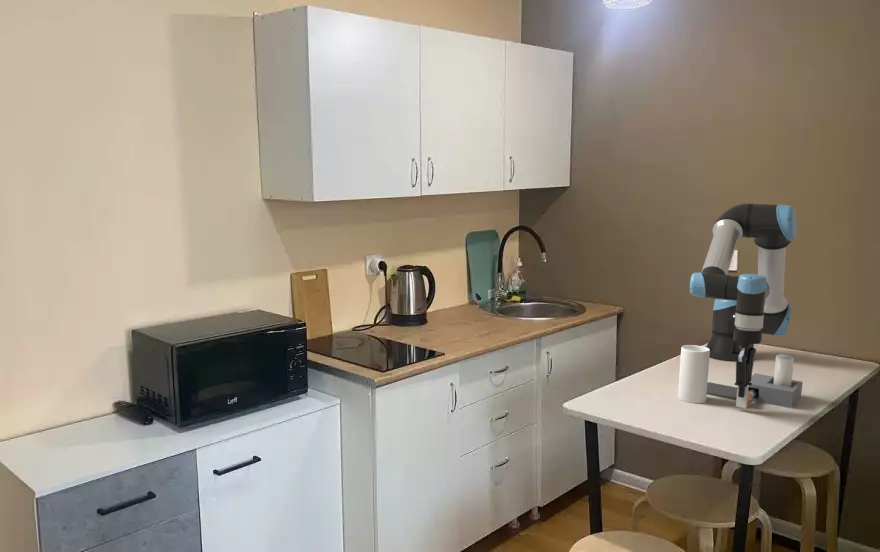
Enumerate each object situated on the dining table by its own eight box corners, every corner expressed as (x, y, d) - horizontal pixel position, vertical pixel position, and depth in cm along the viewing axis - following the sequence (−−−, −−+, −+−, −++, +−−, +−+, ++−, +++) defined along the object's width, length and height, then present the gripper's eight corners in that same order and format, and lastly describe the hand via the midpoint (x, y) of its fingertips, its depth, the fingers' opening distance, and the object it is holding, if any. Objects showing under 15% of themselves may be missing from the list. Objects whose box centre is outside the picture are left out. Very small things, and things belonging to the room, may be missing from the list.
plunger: (748, 395, 224) (749, 384, 224) (759, 397, 222) (760, 387, 221) (739, 403, 216) (740, 392, 215) (751, 406, 214) (752, 395, 213)
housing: (753, 388, 234) (755, 373, 234) (801, 397, 226) (802, 381, 225) (742, 398, 223) (743, 382, 222) (791, 408, 215) (793, 392, 214)
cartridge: (774, 394, 228) (778, 352, 226) (791, 397, 225) (795, 355, 223) (770, 398, 224) (774, 355, 222) (787, 401, 221) (792, 358, 219)
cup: (702, 395, 225) (705, 345, 223) (709, 404, 217) (713, 352, 215) (675, 394, 226) (678, 344, 224) (681, 402, 218) (684, 350, 216)
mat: (708, 383, 238) (708, 382, 238) (746, 391, 231) (746, 389, 231) (696, 392, 229) (696, 390, 228) (736, 400, 221) (736, 398, 221)
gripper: (740, 322, 215) (734, 398, 219) (728, 329, 205) (721, 409, 208) (767, 326, 211) (760, 404, 214) (756, 333, 200) (748, 415, 204)
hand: (741, 406), depth 211 cm, fingers closed
